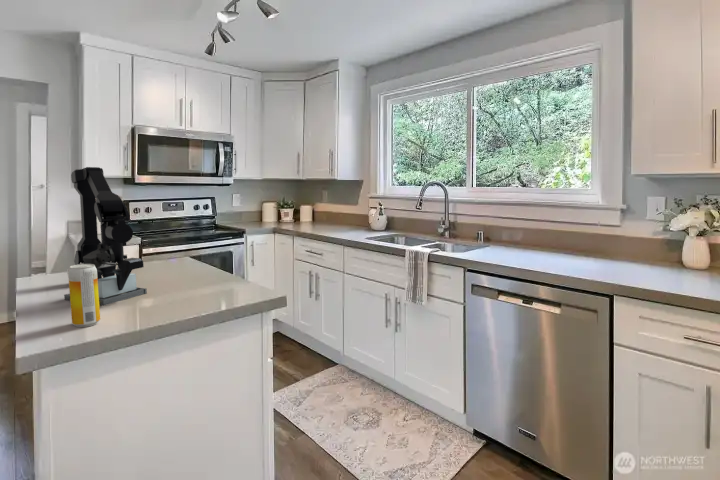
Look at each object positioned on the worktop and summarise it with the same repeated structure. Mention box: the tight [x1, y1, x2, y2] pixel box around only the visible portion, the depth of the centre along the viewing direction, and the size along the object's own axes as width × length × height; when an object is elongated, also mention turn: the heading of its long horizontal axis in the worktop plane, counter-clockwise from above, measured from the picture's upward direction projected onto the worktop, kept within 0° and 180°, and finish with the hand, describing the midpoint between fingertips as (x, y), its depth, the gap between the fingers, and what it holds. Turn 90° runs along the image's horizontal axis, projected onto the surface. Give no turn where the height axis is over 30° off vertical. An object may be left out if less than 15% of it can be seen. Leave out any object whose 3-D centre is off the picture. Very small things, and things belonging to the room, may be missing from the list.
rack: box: [63, 286, 148, 307], centre depth 135 cm, size 16×16×4 cm
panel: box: [98, 272, 138, 299], centre depth 134 cm, size 4×12×5 cm, turn 159°
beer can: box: [67, 263, 101, 328], centre depth 109 cm, size 6×6×15 cm
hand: (115, 289), depth 134 cm, fingers closed on panel, 4 cm apart
